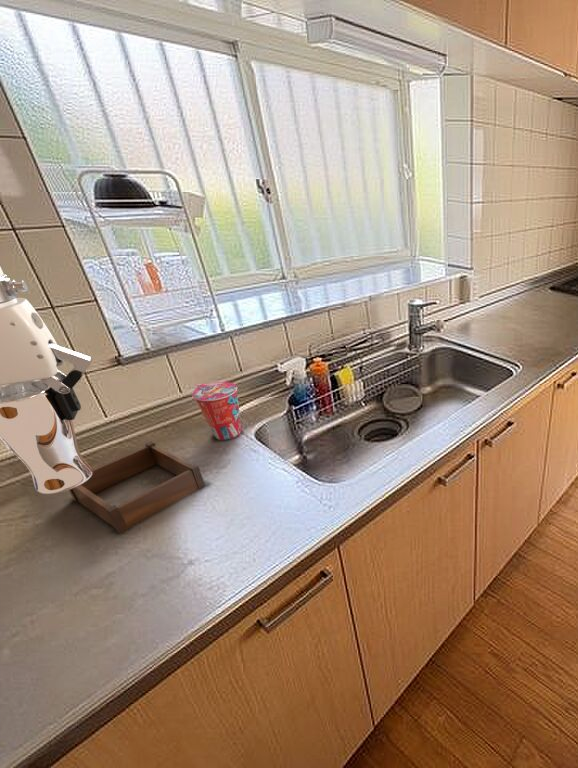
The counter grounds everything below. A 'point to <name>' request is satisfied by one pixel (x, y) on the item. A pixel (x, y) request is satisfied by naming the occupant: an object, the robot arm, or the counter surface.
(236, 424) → the cup
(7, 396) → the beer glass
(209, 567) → the counter surface
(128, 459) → the tray
